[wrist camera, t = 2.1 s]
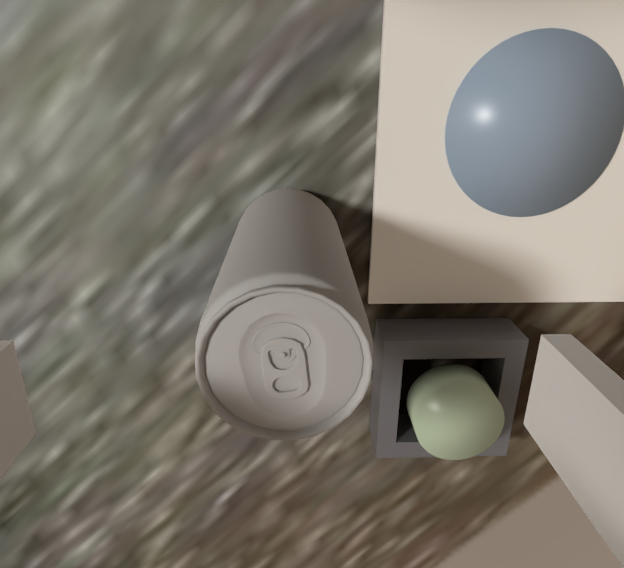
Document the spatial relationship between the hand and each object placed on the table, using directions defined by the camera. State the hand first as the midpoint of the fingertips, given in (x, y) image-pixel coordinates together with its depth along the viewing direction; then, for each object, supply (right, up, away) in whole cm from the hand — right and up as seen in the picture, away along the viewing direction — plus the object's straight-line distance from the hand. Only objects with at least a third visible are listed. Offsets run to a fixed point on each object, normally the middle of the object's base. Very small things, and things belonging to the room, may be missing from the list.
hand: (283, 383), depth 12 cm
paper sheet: (+11, +10, +10) cm, 17 cm away
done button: (+8, -3, +12) cm, 15 cm away
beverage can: (0, +5, +11) cm, 12 cm away
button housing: (+8, -3, +14) cm, 16 cm away
